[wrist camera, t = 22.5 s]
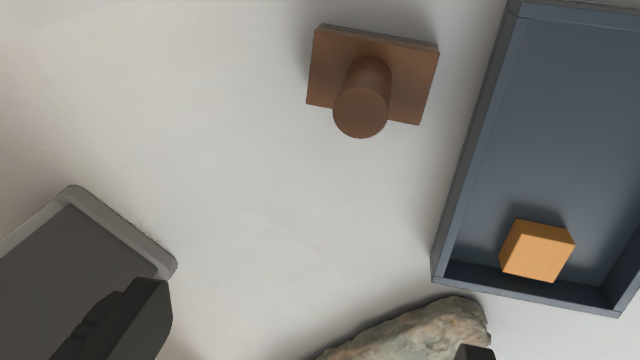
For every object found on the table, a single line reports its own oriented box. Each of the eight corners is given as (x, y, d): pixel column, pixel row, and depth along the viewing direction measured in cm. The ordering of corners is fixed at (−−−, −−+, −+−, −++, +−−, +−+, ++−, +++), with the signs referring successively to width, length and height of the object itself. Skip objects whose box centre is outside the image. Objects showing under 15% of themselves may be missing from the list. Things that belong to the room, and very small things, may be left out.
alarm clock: (106, 332, 52) (-22, 502, 36) (12, 268, 49) (-172, 425, 33) (182, 263, 43) (56, 449, 28) (72, 180, 40) (-139, 337, 24)
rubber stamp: (321, 23, 28) (292, 53, 21) (437, 43, 28) (448, 82, 21) (312, 92, 31) (284, 140, 24) (418, 112, 30) (422, 168, 23)
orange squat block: (515, 217, 33) (521, 233, 31) (567, 228, 32) (576, 245, 30) (497, 255, 35) (501, 272, 33) (546, 266, 34) (553, 283, 33)
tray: (509, -7, 26) (522, 1, 23) (768, 24, 24) (815, 36, 21) (429, 256, 37) (431, 282, 34) (601, 288, 35) (618, 319, 33)
